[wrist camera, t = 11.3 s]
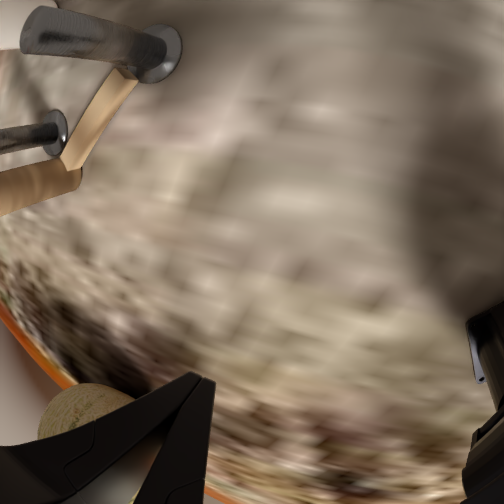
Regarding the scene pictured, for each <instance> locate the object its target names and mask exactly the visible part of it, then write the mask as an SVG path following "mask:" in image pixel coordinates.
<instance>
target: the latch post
mask: <svg viewBox="0 0 504 504" xmlns="http://www.w3.org/2000/svg"><path fill="white" fill-rule="evenodd" d="M67 134H68V128H67V122H66V119H65V117H64V115H63V114H62V113H61V112H59V111H51V112H49V113H48V114H47V115H46V117H45V118H44V120H43V123H39V124H31V125H24V126H17V127H11V128H4V129H0V155H2V154H6V153H10V152H15V151H20V150H24V149H29V148H35V147H40V146H43V148H44V150H45V152H46V153H47V154H49V155H57V154H59V153H60V152H61V151H62V150H63V148H64V146H65V144H66V141H67Z"/></svg>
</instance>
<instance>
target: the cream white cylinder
mask: <svg viewBox="0 0 504 504" xmlns="http://www.w3.org/2000/svg"><path fill="white" fill-rule="evenodd" d="M41 5H43V6H49V7H54V8H58V6H57V4H56V3H55V2H54V1H53V0H0V50H9V49H20V45H19V41H20V34H21V31H22V28H23V25H24V23H25V21H26V19H27V18H28V16H29V15H30V13H31V12H32V11H33V10H34V9H35V8H37V7H38V6H41Z"/></svg>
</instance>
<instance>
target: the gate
mask: <svg viewBox="0 0 504 504" xmlns="http://www.w3.org/2000/svg"><path fill="white" fill-rule="evenodd" d="M138 81H139V80H138V79H137V78H136V77H135V76H134V75H133V74H132V73H131V72H130V70H128V69H122V68H116V67H115V68H114V69H113V70H112V72H111V73H110V75H109V76H108V77H107V79H106V80H105V82H104V83H103V85H102V86H101V88H100V89H99V91H98V92H97V94H96V95H95V97H94V99H93V100H92V102H91V103H90V105H89V106H88V108H87V110H86V111H85V113H84V115H83V116H82V118H81V120H80V121H79V123H78V125H77V127H76V128H75V130H74V132H73V134H72V135H71V137H70V139H69V141H68V143H67V145H66V147H65V149H64V150H63V152H62V154H61V156H60V158H56V159H51V160H47V161H42V162H38V163H34V164H29V165H25V166H21V167H17V168H14V169H10V170H6V171H2V172H0V216H3V215H6V214H8V213H11V212H13V211H16V210H19V209H21V208H24V207H27V206H30V205H32V204H35V203H38V202H41V201H44V200H47V199H50V198H53V197H56V196H59V195H62V194H65V193H68V192H71V191H74V190H76V189H77V188H78V187H79V185H80V182H81V166H82V165H83V163H84V161H85V159H86V158H87V156H88V154H89V153H90V151H91V149H92V148H93V146H94V145H95V143H96V141H97V140H98V138H99V137H100V135H101V134H102V132H103V130H104V129H105V127H106V126H107V124H108V123H109V121H110V120H111V118H112V117H113V116H114V114H115V113H116V111H117V110H118V108H119V107H120V106H121V104H122V103H123V101H124V100H125V99H126V97H127V96H128V95H129V93H130V92H131V91H132V89H133V88H134V87H135V85H136V84H137V83H138Z"/></svg>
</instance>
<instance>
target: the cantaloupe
mask: <svg viewBox="0 0 504 504" xmlns="http://www.w3.org/2000/svg"><path fill="white" fill-rule="evenodd" d="M134 400H136V399H134V398H132V397H130V396H129V395H127V394H125V393H122V392H120V391H118V390H116V389H114V388H111V387H109V386H106V385H102V384H94V383H83V384H78V385H74V386H71V387H70V388H68V389H66V390H64V391H62V392H61V393H60V394H58V395H57V396H56V397H54V399H53V400H52V401H51V402H50V404H49V405H48V406H47V408H46V409H45V411H44V414H43V416H42V417H41V420H40V424H39V428H38V440H39V439H43V438H47V437H50V436H54V435H57V434H60V433H63V432H66V431H69V430H72V429H74V428H77V427H79V426H81V425H84V424H86V423H88V422H90V421H92V420H96V419H97V418H99V417H101V416H103V415H105V414H108V413H110V412H112V411H114V410H116V409H118V408H120V407H122V406H124V405H126V404H128V403H130V402H132V401H134ZM140 488H141V487H140ZM139 490H140V489H139ZM139 490H138V491H137V492H136V494H135V495H134V496H133V498H132V499H131V500H130V501H129V503H128V504H133V502H134V500H135V498H136V496H137V494H138V492H139Z"/></svg>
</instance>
